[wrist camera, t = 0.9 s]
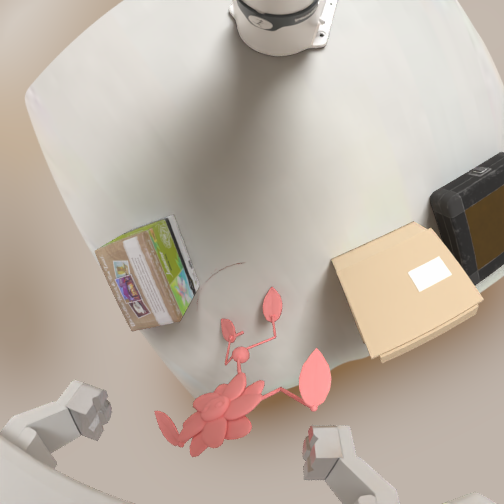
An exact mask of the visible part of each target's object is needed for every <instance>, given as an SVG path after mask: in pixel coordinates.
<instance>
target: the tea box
mask: <svg viewBox="0 0 504 504" xmlns="http://www.w3.org/2000/svg"><path fill="white" fill-rule="evenodd" d="M95 254H96V256H97V258H98V261H99V263H100V266H101V268H102V270H103V272H104V275H105V277H106V279H107V281H108V284H109V286H110V288H111V290H112V292H113V294H114V297H115V299H116V301H117V303H118V305H119V307H120V309H121V311H122V313H123V315H124V317H125V319H126V321H127V323H128V325H129V327H130V329H131V331H136V330H141V329H146V328H151V327H156V326H161V325H166V324H171V323H175V322H180V321H181V319H182V317H183V315H184V314H185V312H186V310H187V308H188V306H189V304H190V302H191V301H192V299H193V297H194V295H195V293H196V291H197V290H198V288H199V286H200V284H199V282H198V279H197V276H196V273H195V271H194V268H193V265H192V262H191V260H190V257H189V255H188V252H187V249H186V246H185V244H184V241H183V239H182V236H181V233H180V230H179V227H178V224H177V222H176V219H175V216H174V215H171V216H168V217H165V218H162V219H159V220H157V221H154V222H151V223H148V224H146V225H143V226H140V227H138V228H135V229H132V230H130V231H128V232H126V233H124V234H123V235H121V236H119V237H117V238H116V239H114V240H112V241H110V242H109V243H107V244H105V245H104V246H102V247H100V248H98V249H97V250H95Z"/></svg>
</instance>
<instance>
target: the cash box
mask: <svg viewBox="0 0 504 504" xmlns="http://www.w3.org/2000/svg"><path fill="white" fill-rule="evenodd" d="M430 203H431V206H432V208H433V212H434V215H435V218H436V221H437V224H438V227H439V230H440V234H441V237H442V241H443V243H444V244H445V246H446V247H447V248H448V250H449V251H450V252H451V254H452V255H453V256H454V257H455V259H456V260H457V262H458V263H459V264H460V266H461V267H462V268H463V270H464V271H465V273H466V274H467V275H468V277H469V278H470V280H471V281H472V283H473V284H474V286H475V285H476V284H478V283H479V282H480V281H482V280H483V279H485V278H486V277H487V276H489V275H490V274H491V273H493V272H494V271H495V270H497V269H498V268H499V267H501V266H502V265H503V264H504V153H503V152H500V153H499V154H497V155H495V156H494V157H492V158H490V159H489V160H487V161H485V162H484V163H482V164H480V165H479V166H477V167H475V168H474V169H472V170H470V171H469V172H467V173H465V174H464V175H462V176H460V177H459V178H457V179H455V180H453V181H452V182H450V183H448V184H447V185H445V186H443V187H441V188H440V189H438V190H436V191H435V192H433V194H432V195H431V196H430Z"/></svg>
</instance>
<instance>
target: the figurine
mask: <svg viewBox="0 0 504 504" xmlns="http://www.w3.org/2000/svg"><path fill="white" fill-rule="evenodd" d="M238 264H240V263H238ZM234 265H235V264H234ZM225 268H226V267H225ZM223 269H224V268H223ZM221 270H222V269H221ZM219 271H220V270H219ZM212 276H213V275H212ZM212 276H211V277H212ZM211 277H210V278H211ZM201 290H202V289H201ZM197 302H198V301H197ZM281 312H282V300H281V296H280V295H279V294H278V292H277V291H276V290H275V289H274V288H273V287H271V288H270V290H269V291H268V293H267V295H266V296H265V298H264V302H263V313H264V316H265V318H266V320H267V321H269V322H271V323H272V325H273V333H274V337H272V338H269V339H267V340H264V341H262V342H259V343H257V344H254V345H252V346H249V347H247V348H245V347H237V348H236V349H234V350H233V352H232V356H231V357H230V359H229V360H228V354H229V349H230V343H233V342H234V340H235V339H236V337H237V336H239V335H241V334H244V332H243V331H242V332H240V333H237V334H236V332H235V327H234V325H233V323H232V322H231V321H230V320H228V319H221V327H222V333H223V337H224V338H225V340H226V341H228V342H229V344H228V349H227V354H226V359H225V365H227V364H228V363H229V362H230V361H231V359H232V358H233V359H234V361H236V362H237V372H238V374H237V375H236V376H235V377H234V378H233V379H232V380H231V382H230V383H229V384H221V385H219V386H218V387H217V388H216V389H215V391H214V392H213V393H207V394H204V395H201V396H199V397H198V398H196V399H195V401H194V403H193V407H194V408H195V409H196V410H197V412H196V413H194V414H193V415H191V416H190V417H189V418H188V419H187V420H186V421H185V422H184V423H183V429H182V431H181V432H180V434H179V433H178V431H177V428H176V426H175V424H174V423H173V422H172V420H171V419H170V417H168V416H167V415H166V414H165V413H163V412H160V411H155V415H156V419H157V422H158V425H159V428H160V430H161V431H162V433H163V435H164V437H165V438H166V439H167V440H168V441H169V442H170V443H171V444H173V445H174V446H177V445H178V446H179V447H183V446H184V444H185V443H186V442H187V441H188V440H189V439H190V438H192V437H193V439H192V441H191V445H190V454H191V456H192V457H196V456H199V455H200V454H201V453H202V452H203V451H204V450H205V449H206V448H207V447H211V448H218V447H219V446H221V445H222V444H223V441H224V439H227V440H230V439H238V438H241V437H244V436H245V435H247V434H248V433H250V431H251V429H252V425H251V422H250V421H249V419H248V418H247V417H246V416H245V415H246V414H248V413H249V412H251V411H252V410H253V409H254V408H255V407H256V406H257V405H258V404H259V403H260V401H261V400H263V399H265V398H268V397H270V396H272V395H274V394H276V393H278V392H279V391H281V392H283V393H285V394H286V395H288V396H290V397H291V398H293V399H295V400H296V401H298V402H300V403H302V404H303V405H305V406H307V407H309V408H310V409H311V411H313V412H314V411H316V410H317V408H318V407H317V406H318V405H320V404H322V403H323V402H324V401H325V399H326V396H327V394H328V393H329V390H330V385H331V374H330V369H329V365H328V363H327V362H326V360H325V358H324V357H323V355H322V354H321V352H320V351H319V350H318V349H317V348H316V349H315V350H314V351H313V352H312V353H311V355H310V356H309V358H308V359H307V360H306V362H305V363H304V365H303V366H302V370H301V373H300V377H299V390H300V393H301V395H302V398H303V399H302V398H299V397H298V396H296V395H294V394H293V393H291V392H289V391H287V390H286V389H284V388H282V387H280V388H278V389H276V390H274V391H272V392H270V393H268V394H266V395H264V396H262V394H261V392H262V390H263V388H264V381H261V380H259V381H257V382H255V383H253V384H251V385H250V386H248V387H247V388H245V387H246V375H245V373H242V372H241V365H240V363H244V362H246V361H247V360H248V359H249V351H248V349H250V348H253V347H255V346H258V345H260V344H262V343H265V342H267V341H270V340H272V339H275V338H276V330H275V323H274V322H275V321H276V320H278V319H279V317H280V315H281ZM227 360H228V361H227ZM313 404H314V405H313Z"/></svg>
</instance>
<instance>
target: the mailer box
mask: <svg viewBox="0 0 504 504" xmlns="http://www.w3.org/2000/svg"><path fill="white" fill-rule="evenodd" d="M425 230H427V229H426V228H424V227H423V226H421V225H419V224H417V223H416V222H414V221H413V222H411V223H409V224H407V225H405V226H403V227H400V228H398V229H396V230H394V231H392V232H390V233H388V234H386V235H383V236H381V237H379V238H377V239H375V240H373V241H370V242H368V243H366V244H364V245H362V246H359V247H357V248H355V249H353V250H350V251H348V252H346V253H344V254H342V255H339V256H337V257H335V258H333V259H331V261H332V263H333V266H334V268H335V270H336V272H338V271H340V270H342V269H344V268H347V267H349V266H351V265H353V264H356V263H358V262H360V261H362V260H364V259H367V258H369V257H371V256H373V255H375V254H377V253H380V252H382V251H384V250H386V249H388V248H390V247H392V246H394V245H397V244H399V243H401V242H403V241H405V240H407V239H409V238H411V237H413V236H415V235H417V234H419V233H421V232H423V231H425ZM338 278H339V277H338ZM339 281H340V280H339ZM340 283H341V282H340ZM341 286H342V284H341ZM342 288H343V287H342ZM343 291H344V289H343ZM344 293H345V291H344ZM345 296H346V294H345ZM346 299H347V301H348V298H347V296H346ZM348 304H349V307H350V309H351V312H352V315H353V317H354V320H355V323H356V326H357V328H358V330H359V333H360V335H361V338H362V340H363V343H364V344H365V341H364V338H363V335H362V333H361V330H360V328H359V325H358V323H357V320H356V318H355V315H354V313H353V311H352V308H351V306H350V303H349V301H348Z"/></svg>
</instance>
